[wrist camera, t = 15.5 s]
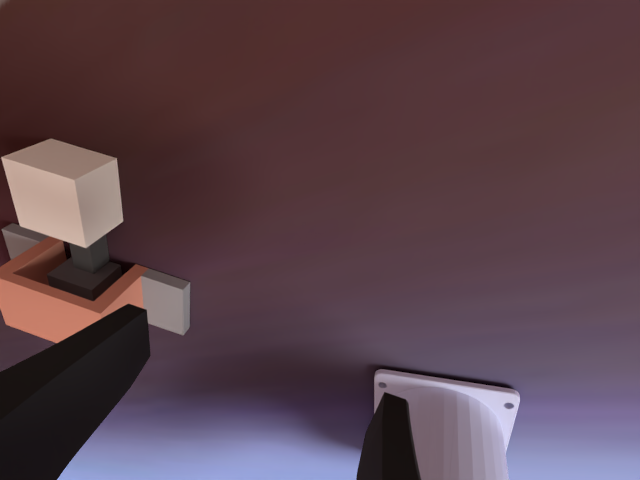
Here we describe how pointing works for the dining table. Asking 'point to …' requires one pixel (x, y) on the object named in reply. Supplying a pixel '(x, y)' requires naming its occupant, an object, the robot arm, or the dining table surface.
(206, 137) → the dining table surface
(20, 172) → the plug
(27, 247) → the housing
